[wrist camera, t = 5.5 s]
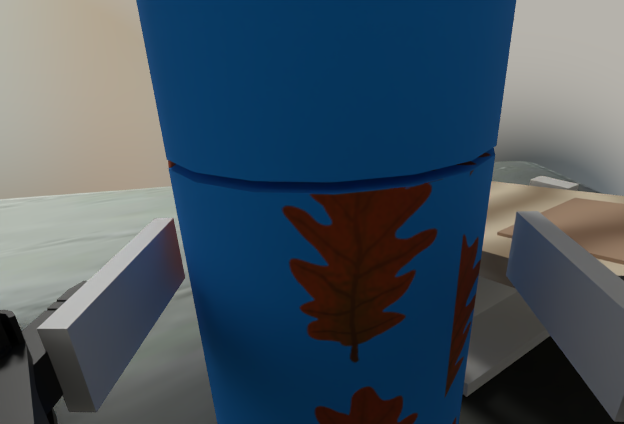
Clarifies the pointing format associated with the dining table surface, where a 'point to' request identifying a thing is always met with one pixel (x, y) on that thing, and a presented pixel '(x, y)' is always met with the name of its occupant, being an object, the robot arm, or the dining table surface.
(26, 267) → the dining table surface
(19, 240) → the dining table surface
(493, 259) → the beam
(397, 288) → the thermos
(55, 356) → the robot arm
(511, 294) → the fulcrum
